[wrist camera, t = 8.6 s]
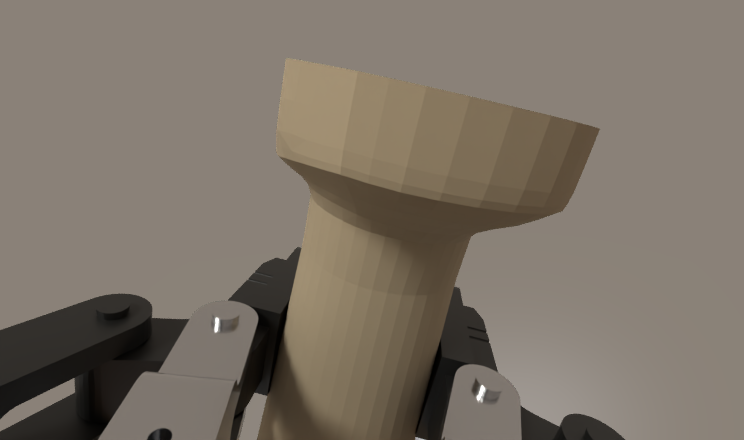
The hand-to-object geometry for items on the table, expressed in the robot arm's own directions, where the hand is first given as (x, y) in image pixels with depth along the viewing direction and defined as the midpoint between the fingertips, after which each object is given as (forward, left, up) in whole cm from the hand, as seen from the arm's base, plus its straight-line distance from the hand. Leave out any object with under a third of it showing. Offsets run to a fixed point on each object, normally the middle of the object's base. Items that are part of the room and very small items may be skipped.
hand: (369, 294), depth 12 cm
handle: (+1, -3, -9) cm, 10 cm away
